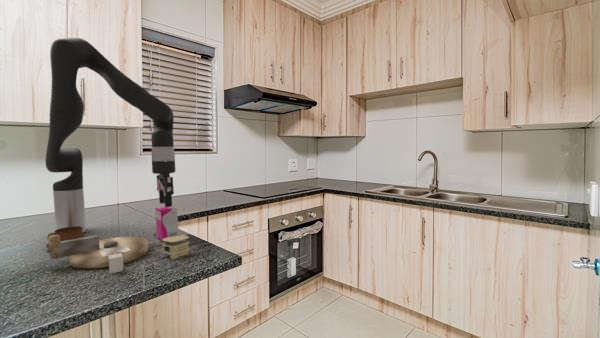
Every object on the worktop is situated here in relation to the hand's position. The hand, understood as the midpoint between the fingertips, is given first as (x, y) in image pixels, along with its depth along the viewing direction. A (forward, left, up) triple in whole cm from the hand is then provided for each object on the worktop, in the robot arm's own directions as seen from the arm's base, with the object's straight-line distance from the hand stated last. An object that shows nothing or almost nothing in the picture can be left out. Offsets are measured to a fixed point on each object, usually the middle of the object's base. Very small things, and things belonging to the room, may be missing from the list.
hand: (165, 204), depth 106 cm
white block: (+21, -18, -12) cm, 30 cm away
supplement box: (0, 0, -13) cm, 13 cm away
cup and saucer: (-12, -28, -13) cm, 33 cm away
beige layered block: (+19, -2, -13) cm, 23 cm away
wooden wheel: (+8, -20, -12) cm, 25 cm away
